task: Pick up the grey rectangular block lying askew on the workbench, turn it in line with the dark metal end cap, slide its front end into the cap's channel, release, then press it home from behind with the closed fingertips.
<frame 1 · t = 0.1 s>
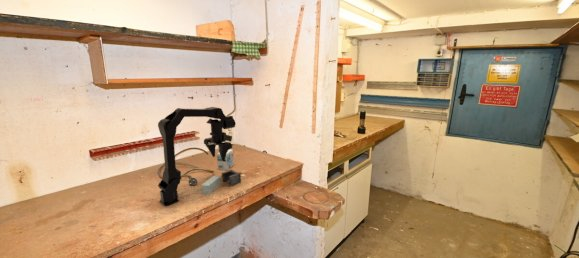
hand: (218, 158, 139), 14 cm above the workbench, fingers open, 9 cm apart
grey rectangular block: (211, 189, 136), on the workbench
light bulb box: (226, 167, 166), on the workbench
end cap: (230, 182, 143), on the workbench
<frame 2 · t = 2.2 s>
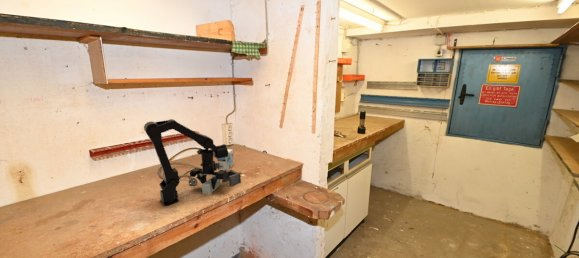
hand: (209, 188, 134), 1 cm above the workbench, fingers closed on grey rectangular block, 4 cm apart
grey rectangular block: (211, 188, 136), on the workbench, touching gripper
everything else where it was.
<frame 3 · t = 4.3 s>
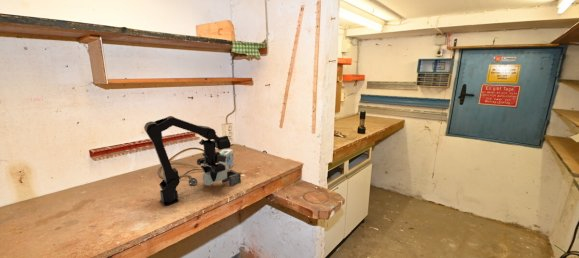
hand: (211, 179, 134), 5 cm above the workbench, fingers closed on grey rectangular block, 4 cm apart
grey rectangular block: (215, 180, 136), point 4 cm above the workbench, touching gripper
everything else where it was.
when the fingers open (1 cm above the workbench, at t = 6.4 s): grey rectangular block stays where it is, on the workbench.
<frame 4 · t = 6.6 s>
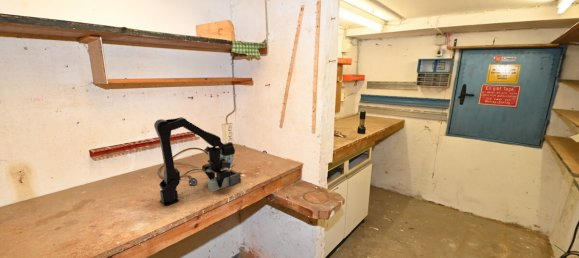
hand: (216, 185, 137), 1 cm above the workbench, fingers open, 6 cm apart
grey rectangular block: (220, 187, 138), on the workbench
everything else where it was.
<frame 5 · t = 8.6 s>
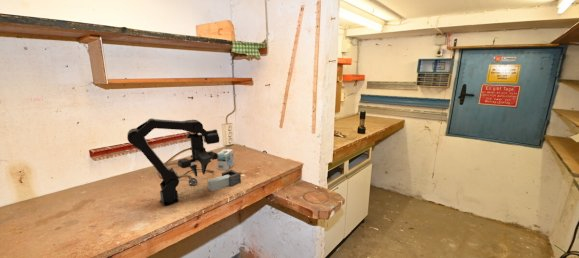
hand: (200, 175, 128), 10 cm above the workbench, fingers open, 4 cm apart
nothing on the workbench moved.
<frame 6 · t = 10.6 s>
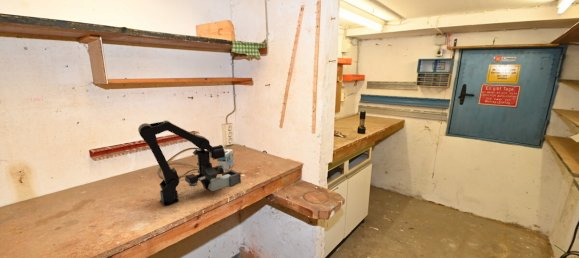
hand: (206, 189, 132), 1 cm above the workbench, fingers closed
grey rectangular block: (220, 186, 139), on the workbench, touching gripper
everything else where it was.
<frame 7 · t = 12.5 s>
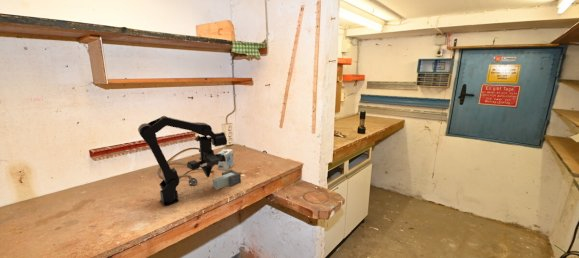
hand: (208, 177, 132), 8 cm above the workbench, fingers closed
grey rectangular block: (224, 184, 141), on the workbench
everything else where it was.
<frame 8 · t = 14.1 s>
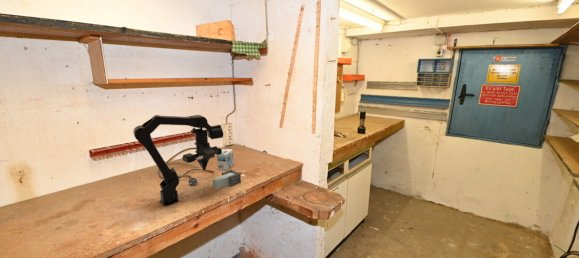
hand: (204, 170, 130), 12 cm above the workbench, fingers closed
nothing on the workbench moved.
at the end: grey rectangular block 0.5 cm from the target spot on the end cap, point 0.0 cm above the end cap's base; grey rectangular block tilted 0°; the gripper is holding nothing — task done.
